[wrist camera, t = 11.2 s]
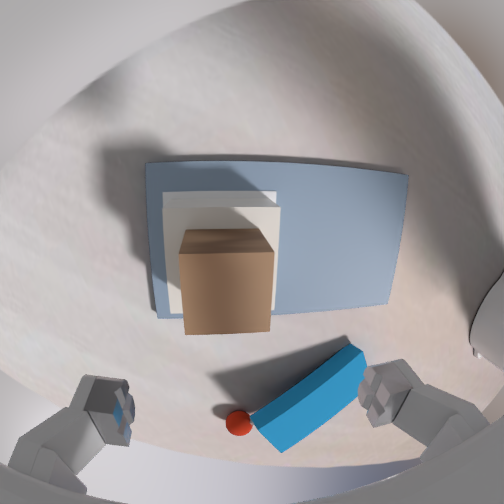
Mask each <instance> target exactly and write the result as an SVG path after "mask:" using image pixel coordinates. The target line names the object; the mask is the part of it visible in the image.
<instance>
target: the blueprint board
mask: <svg viewBox="0 0 504 504" xmlns="http://www.w3.org/2000/svg"><path fill="white" fill-rule="evenodd" d="M145 169H146V203H147V222H148V237H149V249H150V260H151V270H152V280H153V288H154V296H155V304H156V311H157V318H158V319H172V318H183V313H180V314H171V313H170V304H169V295H168V285H167V274H166V263H165V249H164V234H163V214H162V208H163V207H164V206H165V205H166V204H167V202H168V201H169V200H170V199H208V198H268V199H270V200H272V201H273V202H274V203H276V204H277V205H278V206H280V207H281V211H280V230H279V248H278V264H277V280H276V294H275V308H274V310H271V315H281V314H295V313H308V312H320V311H330V310H341V309H350V308H359V307H368V306H376V305H384V304H388V300H389V296H390V291H391V287H392V282H393V278H394V273H395V268H396V263H397V258H398V253H399V247H400V241H401V235H402V228H403V222H404V214H405V206H406V198H407V188H408V177H409V175H405V174H398V173H391V172H384V171H376V170H368V169H359V168H350V167H340V166H329V165H317V164H303V163H286V162H262V161H180V162H157V163H145Z"/></svg>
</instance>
